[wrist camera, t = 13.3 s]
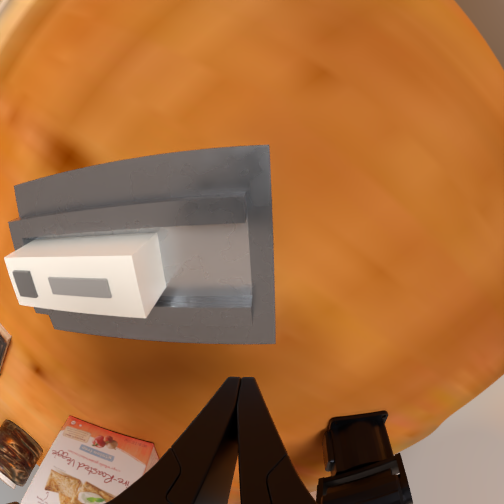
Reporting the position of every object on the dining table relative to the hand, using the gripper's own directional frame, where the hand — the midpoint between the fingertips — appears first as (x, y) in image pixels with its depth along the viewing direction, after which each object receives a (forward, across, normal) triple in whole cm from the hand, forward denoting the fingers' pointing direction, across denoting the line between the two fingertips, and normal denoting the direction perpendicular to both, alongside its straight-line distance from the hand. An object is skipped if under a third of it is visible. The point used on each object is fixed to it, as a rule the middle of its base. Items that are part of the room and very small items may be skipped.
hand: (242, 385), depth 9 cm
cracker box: (+12, +22, +28) cm, 38 cm away
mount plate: (+12, +10, 0) cm, 15 cm away
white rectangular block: (+11, +12, 0) cm, 16 cm away
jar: (+12, +57, +45) cm, 74 cm away
